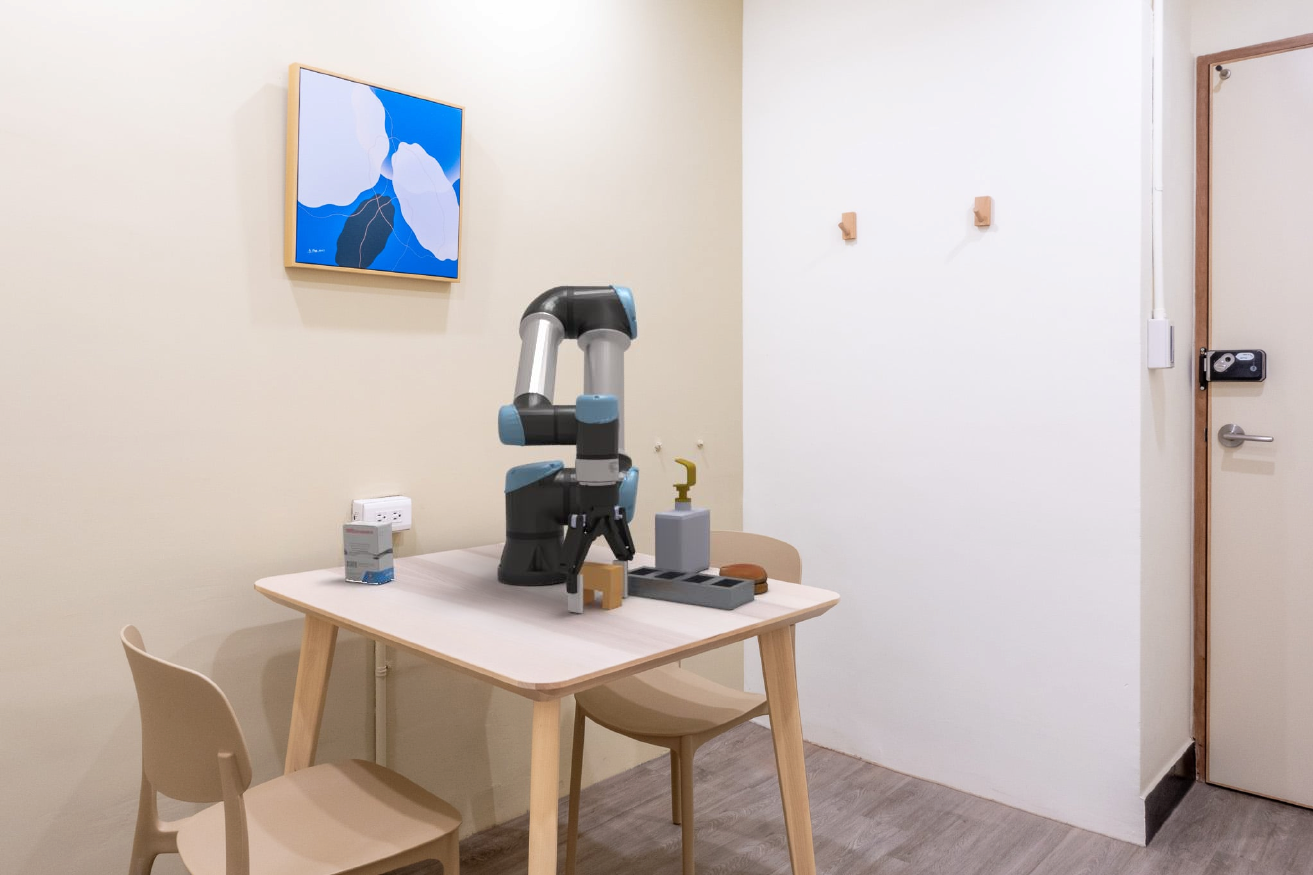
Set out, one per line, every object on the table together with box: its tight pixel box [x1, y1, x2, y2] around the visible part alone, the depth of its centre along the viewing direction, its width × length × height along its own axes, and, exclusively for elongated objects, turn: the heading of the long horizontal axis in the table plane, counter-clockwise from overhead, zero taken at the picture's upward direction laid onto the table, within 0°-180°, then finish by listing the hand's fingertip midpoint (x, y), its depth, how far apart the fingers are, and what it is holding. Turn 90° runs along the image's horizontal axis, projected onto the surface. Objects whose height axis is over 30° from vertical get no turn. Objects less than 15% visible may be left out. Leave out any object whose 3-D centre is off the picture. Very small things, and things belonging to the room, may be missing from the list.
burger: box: [718, 563, 769, 595], centre depth 168 cm, size 10×9×5 cm
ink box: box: [342, 520, 395, 585], centre depth 176 cm, size 9×5×12 cm, turn 68°
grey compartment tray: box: [627, 565, 755, 611], centre depth 163 cm, size 24×9×4 cm, turn 57°
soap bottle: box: [654, 458, 711, 573], centre depth 184 cm, size 12×7×23 cm, turn 147°
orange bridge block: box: [574, 561, 623, 610], centre depth 156 cm, size 8×4×7 cm, turn 57°
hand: (598, 603), depth 156 cm, fingers open, 12 cm apart
